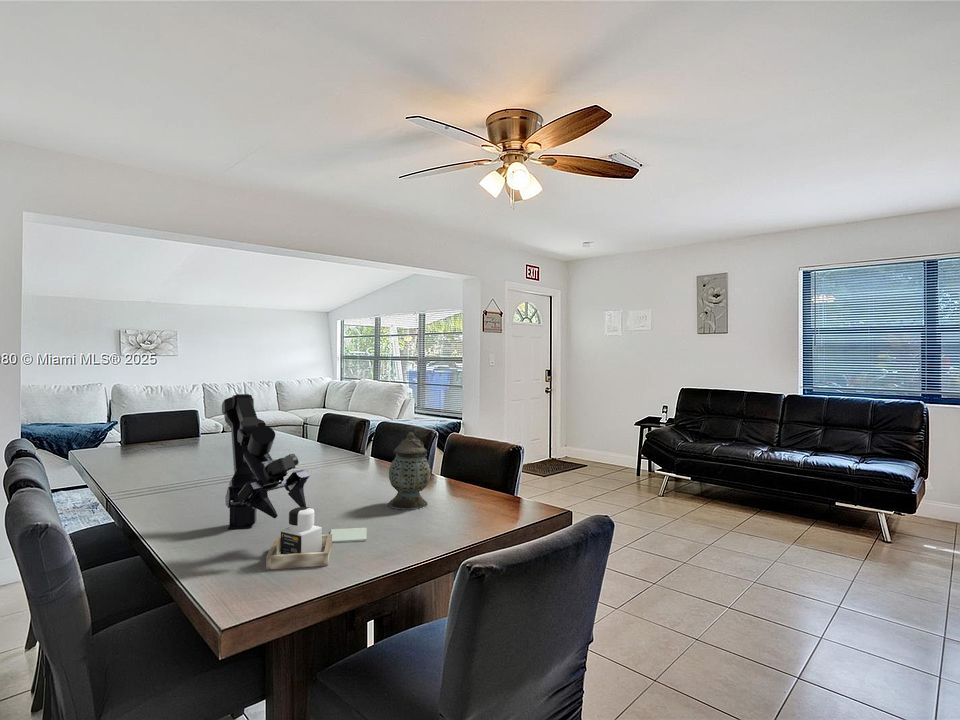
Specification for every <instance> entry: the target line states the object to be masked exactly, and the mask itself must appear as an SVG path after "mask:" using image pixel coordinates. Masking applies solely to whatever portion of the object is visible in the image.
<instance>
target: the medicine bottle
mask: <svg viewBox="0 0 960 720" xmlns="http://www.w3.org/2000/svg"><path fill="white" fill-rule="evenodd" d="M322 535H323V527H321V526H318V525H315V509H314V508H311V507H309V506H306V507H300V506H298V507H295V508H293V509H291V510H290V511H289V513H288V527H286V528H282V529H281V530H280V537H281V548H280V550H279V554H294V553H313V552H322V548H323V547H322Z"/></svg>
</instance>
